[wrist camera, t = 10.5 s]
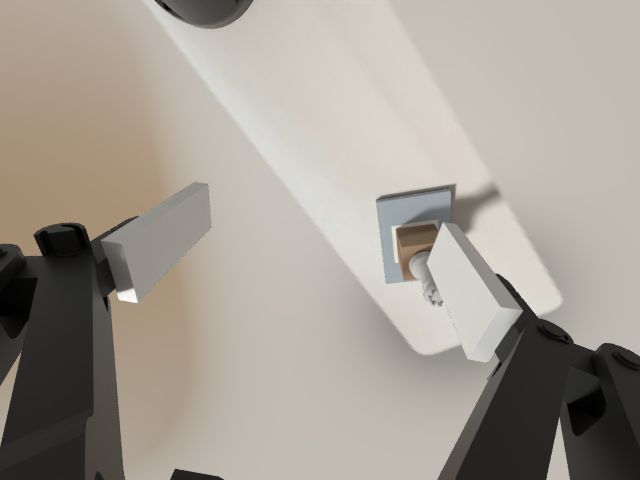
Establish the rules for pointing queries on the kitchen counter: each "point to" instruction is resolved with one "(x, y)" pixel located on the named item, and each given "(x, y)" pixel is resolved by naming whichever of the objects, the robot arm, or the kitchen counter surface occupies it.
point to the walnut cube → (414, 245)
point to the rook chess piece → (425, 277)
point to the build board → (408, 222)
